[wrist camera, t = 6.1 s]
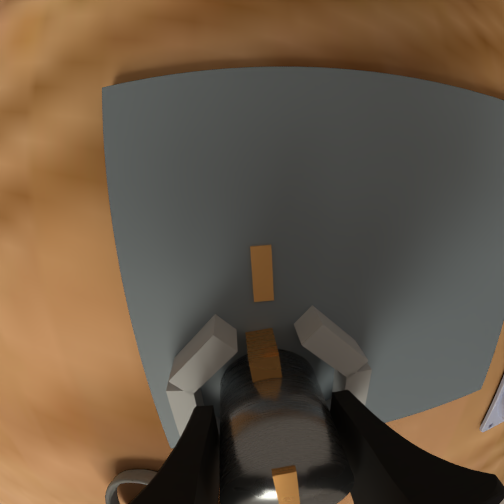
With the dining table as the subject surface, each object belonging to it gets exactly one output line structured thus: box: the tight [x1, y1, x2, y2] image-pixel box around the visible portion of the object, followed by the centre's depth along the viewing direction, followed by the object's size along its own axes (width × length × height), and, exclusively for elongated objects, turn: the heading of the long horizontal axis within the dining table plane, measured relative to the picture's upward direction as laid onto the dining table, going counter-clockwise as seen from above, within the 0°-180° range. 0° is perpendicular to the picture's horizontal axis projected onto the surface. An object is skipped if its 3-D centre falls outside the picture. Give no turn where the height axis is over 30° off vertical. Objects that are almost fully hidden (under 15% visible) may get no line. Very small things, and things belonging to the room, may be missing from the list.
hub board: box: [102, 67, 504, 448], centre depth 11 cm, size 18×16×2 cm
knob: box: [219, 328, 354, 504], centre depth 10 cm, size 5×4×6 cm
